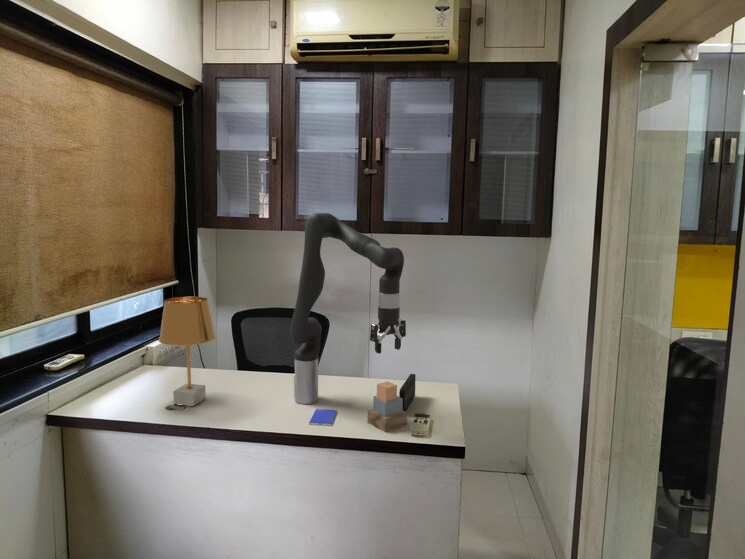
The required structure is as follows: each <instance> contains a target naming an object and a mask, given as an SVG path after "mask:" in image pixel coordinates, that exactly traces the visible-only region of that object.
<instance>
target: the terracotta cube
mask: <svg viewBox="0 0 745 559" xmlns="http://www.w3.org/2000/svg"><path fill="white" fill-rule="evenodd" d="M397 393H398V385H397V384H395V383H392V382H390V381H384V382H381V383H377V384H376V396H377V398H378V399H381V400H383V401H385V402H388V401H391V400H394V399H397V396H398V394H397Z"/></svg>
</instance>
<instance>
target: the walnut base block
mask: <svg viewBox="0 0 745 559" xmlns="http://www.w3.org/2000/svg"><path fill="white" fill-rule="evenodd" d="M366 421H367V422H366V423H367V424H369V425H371V426H373V427H375V428H376V429H379V430H380V431H382V432H384V433H387V432H390V431H394V430H396V429H399V428H403V427H406V426H407V425H408V411H407V412H405V411H403V410H402V413H398V414H394V415H390V416H386V417H385V416H383V415H381V414H380V413H378V412H376V411H375V410H373V408H372V409H368V410H367V420H366ZM405 425H406V426H405ZM402 426H403V427H402Z"/></svg>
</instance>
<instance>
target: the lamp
mask: <svg viewBox="0 0 745 559" xmlns="http://www.w3.org/2000/svg"><path fill="white" fill-rule="evenodd" d="M161 318H162V319H161V324H160V333H159V338H158V342H159V343H160V344H163V345H167V346H175V347H176V346H179V347H180V346H181V347H182V346H184V347H186V350H185V351H186V373H187V376H186V377H187V383H184V384H183V385H181V386H179V387H178V388H175V389H174V390H173V391H172V392H173V393H172V395H173V405H174V404H182V405H190V406H194V405H196V404H197V403H199V402H200V401H201V402H203V401H204V400H206V399H205V398H207V395H206V394H207V392H206V391H207V390H206V384H196V383H192V372H191V369H192V368H191V367H192V366H191V346H194V345H200V344H201V345H202V344H206V343H209V342H212V341H214V340H215V339H216V338H217V335H216V332H215V328H214V322H213V319H212V314H211V309H210V304H209V300H208V298H207V297H203V296H178V297H172V298H168V299H167V298H166V299H165V300H164V303H163V311H162V317H161ZM203 399H204V400H203ZM202 400H203V401H202ZM201 402H200V403H201ZM200 403H199V404H200ZM197 405H198V404H197ZM197 405H196V406H197ZM194 407H195V406H194Z"/></svg>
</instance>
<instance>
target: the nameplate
mask: <svg viewBox="0 0 745 559" xmlns="http://www.w3.org/2000/svg"><path fill="white" fill-rule="evenodd" d="M398 397H400V398H402V399H403V409H402V410H403V411H405V412H406V411H407V412H408V409H409V408H410V407H411V405H410V404H412V403H413V401H414V400H413V399H415V398H414V397H416V374H415V373H410V374H409V375H408V377H407V379H406V380H405V381H404V383H403V384H402V386H401V387H400V388H399V395H398Z"/></svg>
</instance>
